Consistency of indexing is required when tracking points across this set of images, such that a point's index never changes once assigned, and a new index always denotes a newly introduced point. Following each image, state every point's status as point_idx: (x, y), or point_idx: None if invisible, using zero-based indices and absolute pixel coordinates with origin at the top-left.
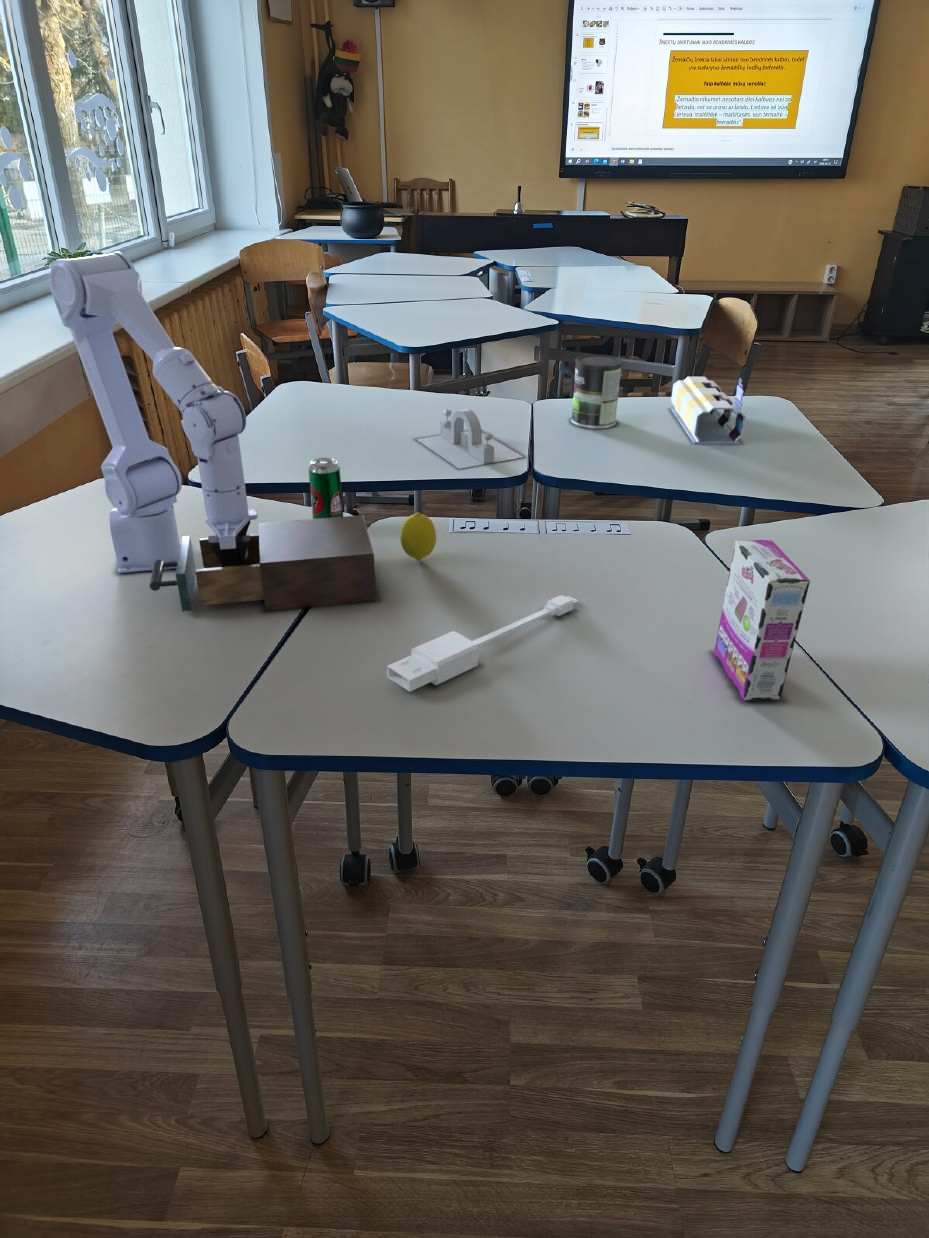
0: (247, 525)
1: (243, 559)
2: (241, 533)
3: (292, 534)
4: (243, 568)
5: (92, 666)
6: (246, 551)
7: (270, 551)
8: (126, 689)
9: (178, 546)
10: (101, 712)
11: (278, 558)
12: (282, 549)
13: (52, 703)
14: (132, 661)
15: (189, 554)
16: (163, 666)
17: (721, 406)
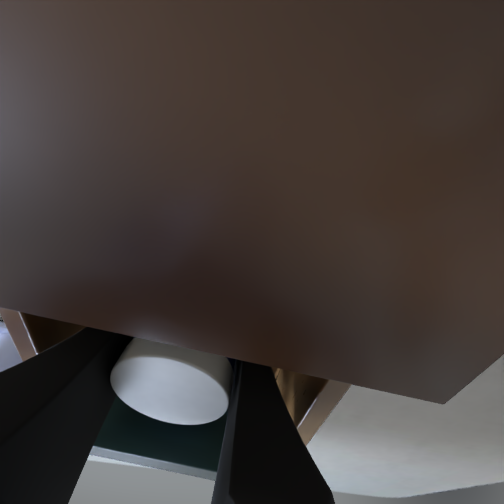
0: (17, 436)
1: (277, 388)
2: (68, 402)
3: (33, 85)
4: (343, 394)
5: (363, 457)
6: (197, 362)
7: (326, 332)
8: (456, 450)
9: (13, 361)
10: (486, 470)
11: (479, 325)
12: (341, 262)
13: (418, 485)
14: (385, 435)
15: (139, 430)
16: (434, 418)
17: None
